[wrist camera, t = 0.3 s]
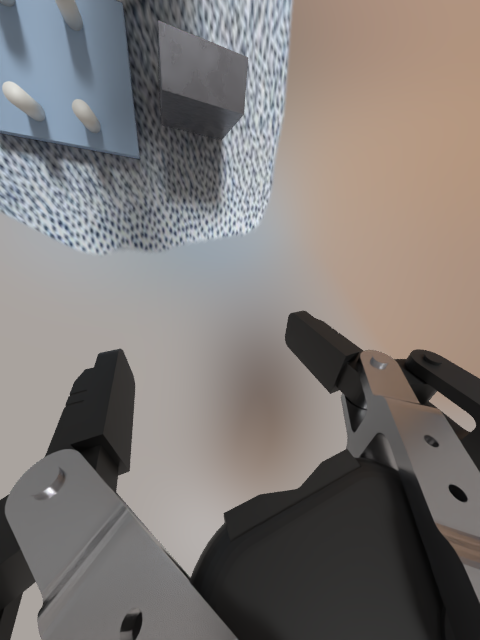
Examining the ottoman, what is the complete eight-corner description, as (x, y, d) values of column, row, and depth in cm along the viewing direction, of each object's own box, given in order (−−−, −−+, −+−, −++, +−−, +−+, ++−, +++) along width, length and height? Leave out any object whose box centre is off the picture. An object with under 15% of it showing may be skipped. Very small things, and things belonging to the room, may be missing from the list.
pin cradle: (-74, -65, 16) (-157, -163, 12) (124, 15, 20) (115, -35, 16) (-4, 132, 21) (-43, 113, 17) (140, 159, 26) (136, 149, 22)
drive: (158, 80, 23) (157, 20, 16) (223, 101, 26) (248, 57, 19) (161, 125, 25) (162, 89, 18) (221, 140, 28) (243, 114, 21)
